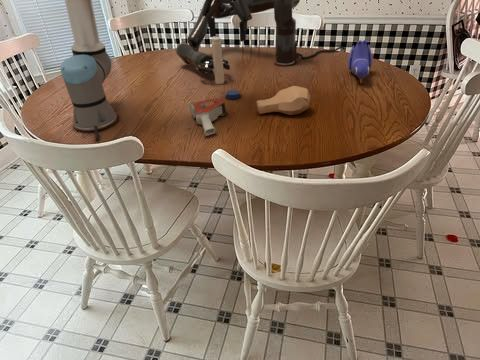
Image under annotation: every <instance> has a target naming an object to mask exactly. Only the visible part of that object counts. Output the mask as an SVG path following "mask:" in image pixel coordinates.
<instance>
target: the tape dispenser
mask: <svg viewBox="0 0 480 360" xmlns="http://www.w3.org/2000/svg"><path fill="white" fill-rule="evenodd" d="M207 103H213V104H210V105H208V106H206V104H207ZM188 106H189V111H190V113H191V114H192V116H193V118H194V119H195V120H196V123H197V124H198V125H202V128H203V134H204V136H205V137H206V136H207V137H208V136H211V135H214V134H215V133H216V127H214V125H213V123H212V122H213V121H216V120H217V119H218V117H219V116H220V117H221V116H224V115H225V114H226V103H225V100H224V98H223V97H215V98H210V99H205V100H199V101H189V102H188Z"/></svg>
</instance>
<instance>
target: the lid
mask: <svg viewBox="0 0 480 360" xmlns="http://www.w3.org/2000/svg"><path fill="white" fill-rule="evenodd" d="M226 98H227V99H228V100H237V99H239V98H240V91H239V90H237V89H231V90H227V91H226Z"/></svg>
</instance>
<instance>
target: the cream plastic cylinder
mask: <svg viewBox="0 0 480 360" xmlns="http://www.w3.org/2000/svg"><path fill="white" fill-rule="evenodd" d="M211 52H212V58H213V64H214V69H213V75H214V82H215V84H216V85H223V84H225V71H224V70H225V68H223V59H224V58H223V46H222V40H221V37H220V36H214V37H211Z"/></svg>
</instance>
